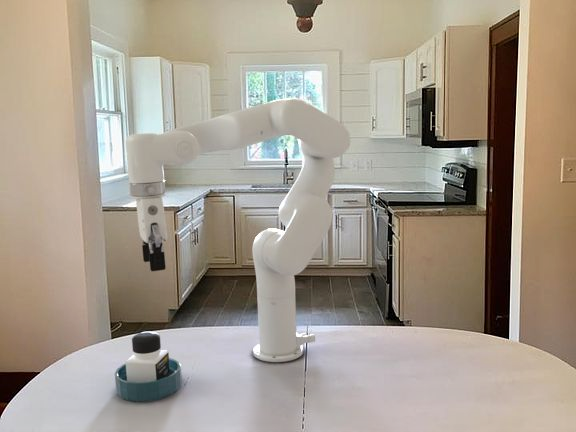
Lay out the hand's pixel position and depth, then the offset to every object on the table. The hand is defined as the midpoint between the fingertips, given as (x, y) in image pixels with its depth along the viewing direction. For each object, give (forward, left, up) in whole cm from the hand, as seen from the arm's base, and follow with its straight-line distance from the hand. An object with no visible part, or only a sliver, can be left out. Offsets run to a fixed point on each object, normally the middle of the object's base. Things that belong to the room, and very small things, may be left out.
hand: (154, 265), depth 135 cm
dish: (+4, +5, -27) cm, 27 cm away
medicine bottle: (+3, +5, -26) cm, 27 cm away
